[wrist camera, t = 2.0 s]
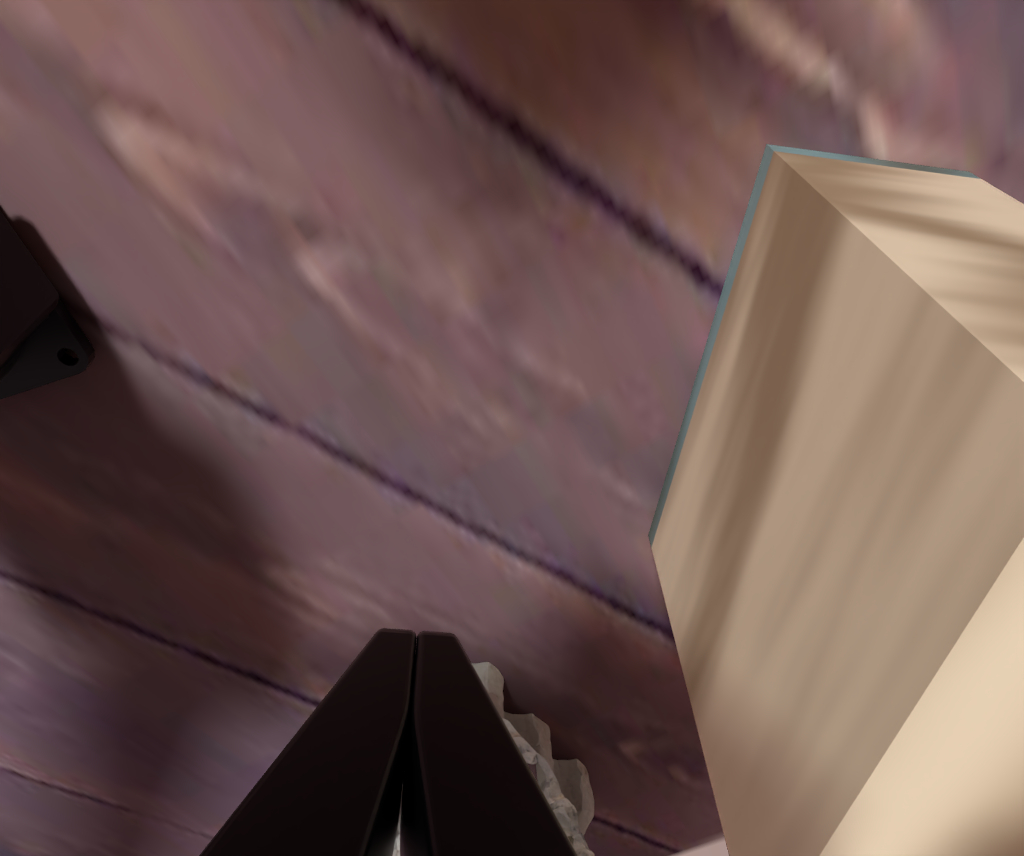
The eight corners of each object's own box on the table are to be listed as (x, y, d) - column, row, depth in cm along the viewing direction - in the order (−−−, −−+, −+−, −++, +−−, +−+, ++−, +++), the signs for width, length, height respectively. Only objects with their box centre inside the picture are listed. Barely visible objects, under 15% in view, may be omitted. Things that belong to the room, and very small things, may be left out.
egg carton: (608, 784, 33) (623, 887, 30) (448, 834, 35) (445, 936, 32) (487, 627, 28) (488, 732, 24) (304, 696, 30) (282, 802, 26)
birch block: (648, 534, 25) (754, 956, 15) (766, 144, 19) (1085, 440, 9) (801, 547, 26) (999, 964, 16) (968, 171, 19) (1488, 481, 9)
